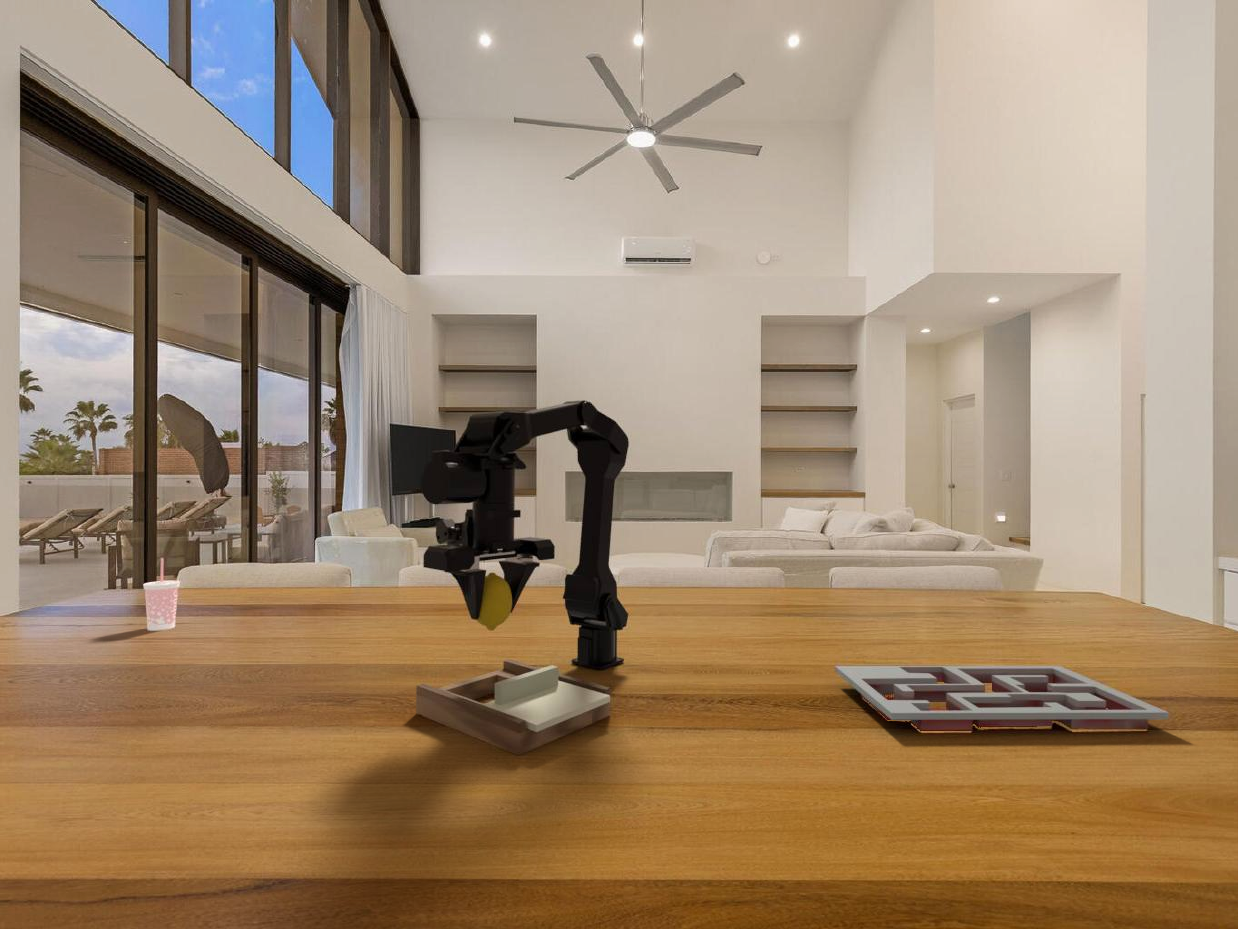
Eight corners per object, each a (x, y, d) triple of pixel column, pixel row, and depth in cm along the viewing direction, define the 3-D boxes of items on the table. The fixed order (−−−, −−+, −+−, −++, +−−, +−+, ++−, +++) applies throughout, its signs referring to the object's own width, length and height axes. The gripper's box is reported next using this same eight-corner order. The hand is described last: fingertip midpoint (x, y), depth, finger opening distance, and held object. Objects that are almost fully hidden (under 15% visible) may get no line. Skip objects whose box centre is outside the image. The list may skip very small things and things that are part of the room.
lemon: (502, 636, 89) (503, 576, 89) (463, 634, 90) (464, 574, 90) (517, 627, 94) (518, 570, 94) (481, 625, 95) (481, 568, 95)
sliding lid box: (508, 683, 101) (508, 659, 101) (609, 715, 88) (610, 687, 88) (416, 713, 88) (416, 685, 88) (518, 755, 76) (519, 723, 76)
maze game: (1059, 686, 103) (1060, 666, 103) (1168, 738, 83) (1168, 712, 83) (834, 686, 102) (834, 665, 102) (891, 739, 82) (891, 713, 82)
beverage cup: (165, 631, 131) (166, 560, 131) (134, 631, 131) (135, 559, 131) (186, 624, 137) (187, 556, 137) (157, 624, 137) (157, 555, 137)
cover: (554, 685, 92) (555, 661, 92) (610, 701, 86) (610, 676, 86) (480, 711, 82) (480, 684, 82) (536, 732, 76) (536, 703, 76)
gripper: (507, 498, 104) (506, 599, 104) (400, 501, 90) (398, 617, 90) (557, 501, 97) (556, 609, 97) (450, 505, 83) (448, 631, 83)
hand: (492, 615), depth 92 cm, fingers closed on lemon, 5 cm apart
